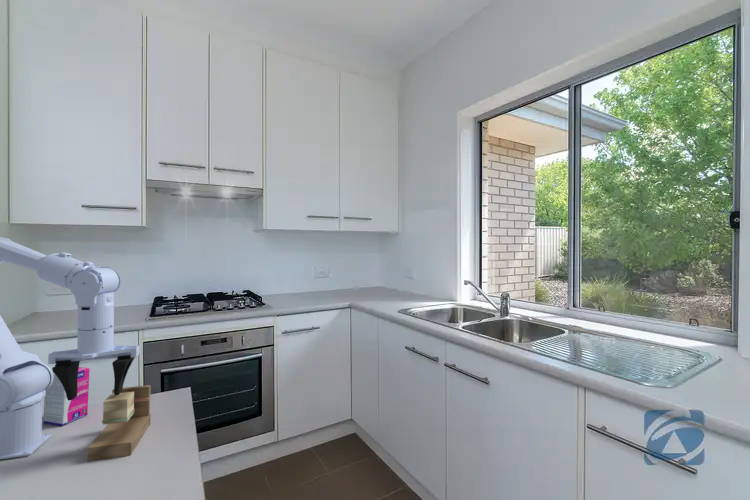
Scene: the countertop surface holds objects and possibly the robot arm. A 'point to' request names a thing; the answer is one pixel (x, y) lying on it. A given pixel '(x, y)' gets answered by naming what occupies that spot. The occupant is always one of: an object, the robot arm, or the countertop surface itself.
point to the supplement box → (66, 401)
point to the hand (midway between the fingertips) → (95, 395)
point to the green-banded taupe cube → (118, 408)
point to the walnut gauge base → (123, 429)
